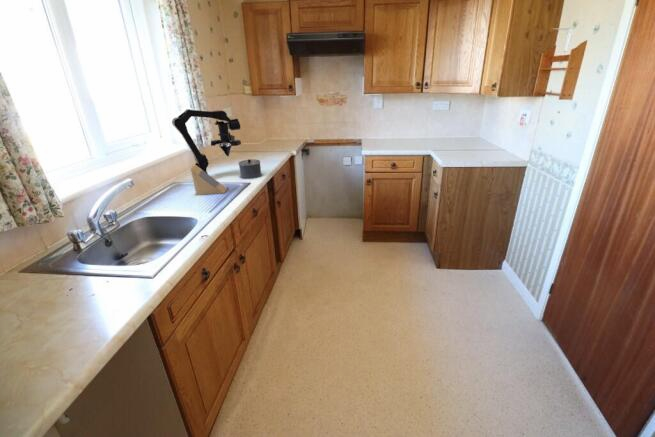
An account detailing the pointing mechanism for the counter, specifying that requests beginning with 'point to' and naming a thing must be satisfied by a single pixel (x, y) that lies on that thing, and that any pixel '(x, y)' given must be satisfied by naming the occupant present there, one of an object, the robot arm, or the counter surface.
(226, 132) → the robot arm
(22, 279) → the counter surface
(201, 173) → the sandwich container
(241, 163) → the stockpot
